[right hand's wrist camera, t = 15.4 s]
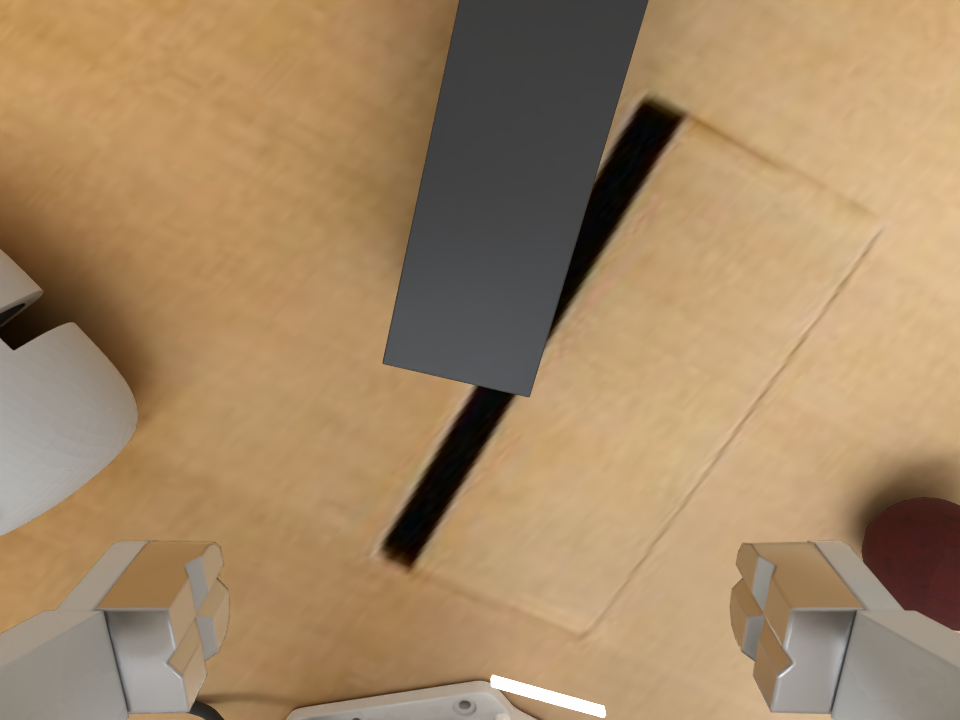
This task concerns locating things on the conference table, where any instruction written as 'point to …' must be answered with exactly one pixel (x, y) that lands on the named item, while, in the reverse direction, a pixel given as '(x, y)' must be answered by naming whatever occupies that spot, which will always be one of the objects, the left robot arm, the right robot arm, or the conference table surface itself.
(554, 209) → the box
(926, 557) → the plum
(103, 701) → the right robot arm
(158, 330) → the conference table surface
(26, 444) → the white slotted dome
